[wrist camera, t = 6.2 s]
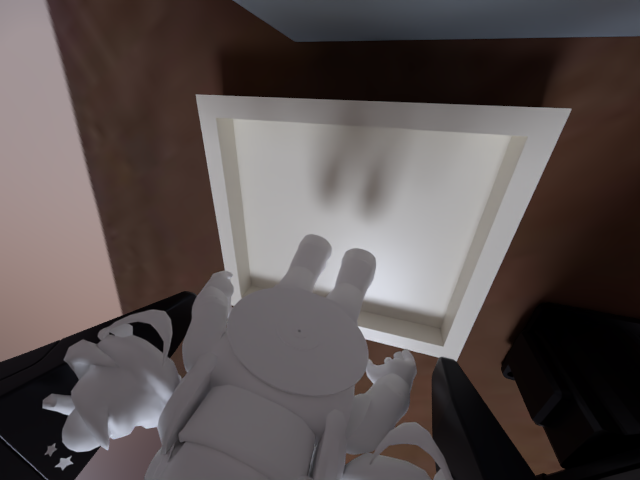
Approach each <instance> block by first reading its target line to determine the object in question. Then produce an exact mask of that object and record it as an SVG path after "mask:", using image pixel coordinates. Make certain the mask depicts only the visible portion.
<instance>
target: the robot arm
mask: <svg viewBox="0 0 640 480" xmlns="http://www.w3.org/2000/svg"><path fill="white" fill-rule="evenodd" d="M196 297H197V295H196V294H195V293H192V292H188V291H184V292H181V293H178V294H176V295H173V296H171V297H168V298H166V299H163V300H161V301H158V302H155V303H153V304H150V305H148V306H145V307H143V308H140V309H138V310H135V311H132V312H130V313H127V314H125V315H122V316H120V317H117V318H115V319H112V320H109V321H107V322H104V323H102V324H99V325H97V326H94V327H92V328H89V329H87V330H84V331H81V332H79V333H76V334H74V335H71V336H69V337H66V338H63V339H62V340H58V341H56V342H53V343H51V344H48V345H45V346H43V347H40V348H38V349H35V350H33V351H30V352H27V353H24V354H22V355H19V356H16V357H13V358H11V359H8V360H5V361H2V362H0V480H74V479H75V478H76V477H77V476H78V475H79V473H80V472H81V471H82V470H83V468H84V467H85V466H86V464H87V463H88V462H89V461H90V459H91V458H92V457H93V456H94V454H95V453H96V452H97V450H98V449H99V448H100V447H101V446H99V447H96V448H94V449H92V450H90V451H84V452H76V451H73V450H70V449H68V448H67V447H66V446H65V444H64V443H63V442H62V430H63V427H64V425H65V422H66V420H67V417H68V416H69V415H65V414H62V413H60V412H57V411H53V410H48V409H44V408H43V400H44V399H45V398H47V397H48V396H49V395H51V394H59V395H70V396H71V391H72V389H73V388H74V386H75V385H76V384H77V382H78V381H79V379H78V377H77V375H76V374H75V372H74V371H73V370H72V369H71V367H70V366H69V365H68V363H67V362H65V361H64V358H65V355H66V353H67V351H68V348H69V347H70V346H72V345H74V344H76V343H77V342H79V341H81V340H86V341H89V342H92V343H95V344H98V343H99V342H100V341H101V340H100V339H99V338H98V333H99V331H100V330H102V329H103V328H106V327H109V326H111V325H112V324H113V323H114V322H116V321H118V320H120V319H123V318H125V317H127V316H129V315H132V314H136V313H140V312H144V311H148V310H160V311H165V312H166V313H167V315H168V316H169V318H170V319H171V325H172V332H173V334H172V339H171V343H170V348H169V352H168V355H167V357H168V358H170V357H171V356H172V355H173V353H174V352H175V351H176V349H177V348H178V346H179V345H180V343H181V342H182V340H183V339H184V337H185V336H186V333H187V331H188V328H189V326H190V323H191V320H192V306H193V304H194V301H195V299H196ZM547 311H551V312H548V313H546V312H547ZM128 324H130V325H131V326H133V335H134V336H137V337H139V338H142V339H144V340H146V341H148V342H149V343H151V344H152V345H153V346H155V347H156V348H157V349H158V350H160V351H161V352H162V353H163V347H164V341H163V340H162V338H161V336H160V335H159V333H158V332H157V330H156V329H155V328H154V327H153V326H152V325H151V324H148V323H143V322H133V323H128ZM109 335H114V334H112V333H110V332H109ZM114 336H115V335H114ZM501 371H502V373H503V375H504V377H505V378H508V379H511V380H515V381H516V384H517V386H518V388H519V391H520V393H521V395H522V398H523V400H524V402H525V405H526V407H527V409H528V412H529V414H530V416H531V418H532V420H533V421H534V422H535V424H537V425H539V426H542V427H543V428H544V430H545V432H546V435H547V437H548V439H549V441H550V443H551V446H552V448H553V450H554V452H555V455H556V457H557V459H558V461H559V463H560V465H561V467H562V468H565V469H564V470H561V471H558V472H555V473H551V474H548V475H546V474H544V473H542V474H539V475H536V476H535V474H534V473H533V472H532V470H531V469H530V467H529V466H528V464H527V463H526V461H525V460H524V458H523V457H522V456H521V454H520V453H519V451H518V450H517V448H516V447H515V445H514V444H513V443H512V441H511V440H510V438H509V437H508V435H507V434H506V432H505V431H504V430H503V428H502V427H501V425H500V424H499V422H498V421H497V419H496V418H495V417H494V415H493V414H492V412H491V411H490V409H489V408H488V406H487V405H486V404H485V402H484V401H483V399H482V398H481V396H480V395H479V393H478V392H477V390H476V389H475V388H474V386H473V385H472V383H471V382H470V380H469V379H468V377H467V376H466V375H465V373H464V372H463V370H462V369H461V367H460V366H459V364H458V363H457V362H456V361H455V360H454V359H450V358H446V357H440V358H439V359H438V361H437V364H436V366H435V369H434V371H433V375H432V433H433V440H434V442H435V443H436V445H437V446H438V448H439V450H440V451H441V453H442V454H443V456H444V458H445V460H446V463H447V465H448V468H449V471H450V473H451V476H452V478H453V479H454V480H640V320H639V319H634V318H628V317H623V316H618V315H612V314H607V313H602V312H596V311H591V310H586V309H581V308H575V307H570V306H565V305H559V304H554V303H542V304H540V305H539V306H538V307H537V308H536V310H535V311H534V313H533V315H532V316H531V318H530V320H529V322H528V323H527V325H526V327H525V328H524V330H523V331H522V332H521V333H520V334H519V336H518V338H517V339H516V341H515V343H514V344H513V346H512V348H511V349H510V351H509V353H508V355H507V356H506V360H505V362H504V363H503V365H502V367H501ZM53 444H55V448H56V449H57V450H55V451H54V452H53V453H52V455H51V457H50V456H49V454H46V455H45V453H46V452H47V450H48V446H52V445H53ZM70 456H71V458H70V461H71V462H72V463H73V464H70V465H68V466H66V467H65V468H64V469H63V470H62V468H61V467H55V466H56V465H57V464H59V463H60V458H65V459H66V458H68V457H70ZM435 463H436V462H435ZM440 469H441V468H440V467H439V466H438V464H437V463H436V472H438V471H439V470H440Z"/></svg>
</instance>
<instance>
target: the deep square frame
mask: <svg viewBox="0 0 640 480" xmlns="http://www.w3.org/2000/svg"><path fill="white" fill-rule="evenodd" d="M233 1H234V2H236V3H237V4H239V5H240V6H242V7H243V8H245V9H246V10H248V11H249V12H251V13H252V14H254V15H255V16H257V17H259V18H260V19H262V20H263V21H265V22H266V23H268V24H269V25H271V26H272V27H274V28H275V29H277V30H278V31H280V32H281V33H283V34H284V35H286V36H287V37H289V38H290V39H292V40H293V41H295V42H319V41H379V40H438V39H497V38H557V37H616V36H640V0H233Z"/></svg>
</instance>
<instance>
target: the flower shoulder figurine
mask: <svg viewBox="0 0 640 480" xmlns="http://www.w3.org/2000/svg"><path fill="white" fill-rule="evenodd" d="M331 253H332V247H331V245H330V243H329V242H328V241H327V240H326V239H325V238H323V237H321V236H318V235H314V234H309V235H306V236H305V237H304V238H303V239H302V241H301V242H300V244H299V247H298V249H297V251H296V253H295V255H294V258H293V260H292V262H291V264H290V267H289V269H288V272H287V273H286V275H285V276H284V277H283V279H282V280H281V281H280V283H279V284H276V285H275V286H274V287H273V288H268V289H263V290H259V291H255V292H253V293H250V294H248V295H247V296H245V297H243V298H242V299H241V300H240V301H238V302H237V303H236V304H235V306H234V307H233V308H232V307H231V296H232V295H233V293H234V287H233V285H232V283H231V279H230V278H232V276H233V274H232V273H231V272H228V271H221V272H218V273H214V274H212V276H211V278H210V280H209V281H208V282H207V283H206V285H205V286H204V288H203V289H202V291H201V292H200V293H199V294H198V296H197V297H196V299H195V301H194V304H193V306H192V320H191V323H190V326H189V328H188V331H187V333H186V336H185V338H184V341H183V345H182V352H183V361H184V366H185V370H186V371H187V372H188V373H187V374H186V375H185V377H184V378H183V379H182V380H181V376H180V375H179V374H178V372H177V369H176V367H175V364H174V362H173V361H172V360H171V359H170V358H168V357H167V355H168V352H169V348H170V343H171V339H172V334H173V332H172V325H171V319H170V318H169V316H168V315H167V313H166V312H165V311H160V310H148V311H144V312H140V313H136V314H132V315H129V316H127V317H125V318H123V319H120V320H118V321H116V322H114V323H113V324H112V325H111V326H109V327H106V328H103V329H102V330H100V331H99V333H98V338H99V339H100V340H101V341H100V342H99V343H98V344H95V343H92V342H89V341H86V340H81V341H79V342H77V343H76V344H74V345H72V346H70V347H69V348H68V351H67V353H66V355H65V358H64V361H65V362H67V363H68V365H69V366H70V367H71V369H72V370H73V371H74V372H75V374H76V375H77V377H78V379H79V381H78V382H77V384H76V385H75V386H74V388H73V389H72V391H71V396H70V395H59V394H51V395H49V396H48V397H47V398H45V399H44V400H43V408H44V409H48V410H53V411H57V412H60V413H62V414H65V415H69V416H68V417H67V420H66V422H65V425H64V427H63V430H62V442H63V443H64V444H65V446H66V447H67V448H68V449H70V450H73V451H76V452H84V451H90V450H92V449H94V448H96V447H99V446H101V447H103V448H104V449H106V450H108V448H109V444H110V439H109V438H110V437H111V438H112V439H116V438H120V437H123V436H126V435H129V434H130V433H131V431H132V430H133V429H134V427H135V426H143V427H144V428H146V429H148V428H153V427H157V429H158V432H159V436H160V439H161V443H162V447H161V448H160V449H159V451H158V452H157V453H156V455H155V456H154V458H153V460H152V461H151V463H150V465H149V467H148V470H147V472H146V474H145V477H144V480H431V478H430V477H429V476H428V474H427V473H426V471H425V470H423V469H421V468H419V467H417V466H415V465H413V464H412V463H410V462H408V461H404V460H400V459H396V458H392V457H387V456H382V455H379V454H380V453H381V452H382V451H383V450H384V449H386V448H387V447H388V446H389V445H396V444H414V445H418V446H419V447H421V448H422V449H423V450H425V451H426V452H427V453H429V454H430V455H431V456H432V457H433V459H434V460H435V462H436V463H437V464H438V466H439V467H440V468H441V469H440V470H439V471H438V472H437V473H436V475H435V476H434V480H454V479H453V478H452V476H451V473H450V471H449V468H448V465H447V463H446V460H445V458H444V456H443V454H442V453H441V451H440V450H439V448H438V446H437V445H436V443H435V442H434V440H433V438H432V437H431V435H430V434H429V432H428V431H427V430H426V429H424V428H423V427H422V426H420V425H419V424H418V423H416V422H410V423H402V424H401V425H399V426H397V427H396V428H394V427H395V425H396V423H397V422H398V421H399V420H400V418H402V417H403V416H404V415H405V414H406V412H407V410H408V408H409V404H410V391H411V388H412V384H413V380H414V378H415V376H416V373H417V370H416V364H415V360H414V357H413V355H412V354H411V353H410V352H409V351H408V350H407V349H404V350H403V351H402V353H401V351H400V352H396V353H395V354H394V359H391V357H387V358H386V359H385V360H384V362H385V364H383V365H378V366H377V365H374V364H373V363H372V361H371V360H370V359H368V347H367V343H366V340H365V338H364V336H363V334H362V332H361V330H360V329H359V327H358V323H357V319H358V316H359V314H360V310H361V306H362V302H363V299H364V296H365V294H366V291H367V289H368V288H369V287H370V285H371V283H372V281H373V279H374V274H375V270H376V258H375V257H374V255H373V254H372V253H370V252H369V251H366V250H363V249H359V248H353V249H350V250H348V251H346V252H345V254H344V256H343V258H342V261H341V267H340V270H339V273H338V276H337V279H336V283H335V287H334V289H333V290H332V291H331V292H330V293H329V294H328V295H327V296H326V298H325V297H323V296H320V295H317V294H315V293H312V292H313V288H314V285H315V283H316V281H317V279H318V277H319V276H320V275H321V273H322V272H323V271H324V269H325V268H326V262H327V260H328V259H329V258H330V257H331ZM227 318H228V321H227ZM133 322H143V323H148V324H151V325H152V326H153V327H154V328H155V329H156V330H157V332H158V333H159V335H160V336H161V338H162V340H163V341H164V347H163V353H162V352H161V351H160V350H158V349H157V348H156V347H155V346H153V345H152V344H151V343H149V342H148V341H146V340H144V339H142V338H139V337H137V336H134V335H133V326H131V325H130V324H128V323H133ZM226 323H227V328H226ZM109 332H110V333H112V334H114V335H115V336H114V335H109ZM365 371H366V373H367V376H368V377H369V379H370V380H371V381H372V383H373V386H372V387H371V388H370V389H369V390H368V391H367V392H366V393H365V394H361V393H360V394H358V395H356V396H354V390H355V386H354V385H355V384H356V383H357V382H358V381H359V380H360V379H361V377H362V376H363V374H364V373H365ZM314 446H316V448H315V449H314ZM55 450H57V449H56V448H55V444H53V445H52V446H48V450H47V452H46V453H45V455H46V454H49V456H50V457H51V455H52V453H53V452H54V451H55ZM313 450H314V451H313ZM374 450H375V452H374V454H373V453H368V452H372V451H374ZM346 453H348V454H362V453H365V454H363V455H361V456H359V457H357V458H355V459H353V460H352V461H350V462H349V463H347V464H346V465H345V459H346ZM70 458H71V456H70V457H68V458H66V459H65V458H60V463H59V464H57V465H56V466H55V467H61V468H62V470H63V469H64V468H65V467H66V466H68V465H70V464H73V463H72V462H71V461H70Z"/></svg>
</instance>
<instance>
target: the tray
mask: <svg viewBox="0 0 640 480" xmlns="http://www.w3.org/2000/svg"><path fill="white" fill-rule="evenodd" d="M196 100H197V106H198V112H199V118H200V124H201V130H202V136H203V142H204V148H205V153H206V159H207V165H208V171H209V177H210V183H211V189H212V195H213V201H214V207H215V213H216V219H217V225H218V231H219V237H220V243H221V249H222V255H223V261H224V267H225V271H228V272H231V273H232V274H233V276H232V278H230V279H231V283H232V285H233V287H234V293H233V295H232V296H231V305H233V306H235V304H236V303H237V302H238V301H240V300H241V299H242V298H243V297H245V296H247V295H248V294H250V293H253V292H255V291H259V290H263V289H268V288H273V287H274V286H275V285H276V284H279V283H280V281H281V280H282V279H283V277H284V276H285V275H286V273H287V272H288V269H289V267H290V264H291V262H292V260H293V258H294V255H295V253H296V251H297V249H298V247H299V244H300V242H301V241H302V239H303V238H304V237H305V236H306V235H309V234H314V235H318V236H321V237H323V238H325V239H326V240H327V241H328V242H329V243H330V245H331V247H332V253H331V257H330V258H329V259H328V260H327V262H326V268H325V269H324V271H323V272H322V273H321V275H320V276H319V277H318V279H317V281H316V283H315V285H314V288H313V292H312V293H315V294H317V295H320V296H323V297H325V298H326V296H327V295H328V294H329V293H330V292H331V291H332V290H333V289H334V287H335V283H336V279H337V276H338V273H339V270H340V267H341V261H342V258H343V256H344V254H345V252H346V251H348V250H350V249H353V248H359V249H363V250H366V251H369V252H370V253H372V254H373V255H374V257H375V258H376V270H375V274H374V279H373V281H372V283H371V285H370V287H369V288H368V289H367V291H366V294H365V296H364V299H363V302H362V306H361V310H360V314H359V316H358V319H357V323H358V327H359V329H360V330H361V332H362V334H363V336H364V338H365V339H368V340H372V341H376V342H379V343H383V344H387V345H391V346H395V347H399V348H403V349H407V350H411V351H415V352H419V353H423V354H427V355H431V356H435V357H439V358H440V357H446V358H450V359H454V360H455V361H457V359H458V357H459V355H460V353H461V350H462V348H463V346H464V344H465V342H466V339H467V337H468V335H469V333H470V331H471V329H472V326H473V324H474V322H475V320H476V318H477V315H478V313H479V311H480V309H481V307H482V304H483V302H484V300H485V298H486V296H487V293H488V291H489V289H490V287H491V285H492V283H493V280H494V278H495V276H496V274H497V272H498V269H499V267H500V265H501V263H502V261H503V258H504V256H505V254H506V252H507V250H508V247H509V245H510V243H511V241H512V239H513V237H514V234H515V232H516V230H517V228H518V226H519V223H520V221H521V219H522V217H523V215H524V212H525V210H526V208H527V206H528V204H529V201H530V199H531V197H532V195H533V193H534V191H535V188H536V186H537V184H538V182H539V180H540V177H541V175H542V173H543V171H544V169H545V166H546V164H547V162H548V160H549V158H550V155H551V153H552V151H553V149H554V147H555V145H556V142H557V140H558V138H559V136H560V134H561V131H562V129H563V127H564V125H565V123H566V120H567V118H568V116H569V114H570V112H571V109H567V108H540V107H514V106H487V105H461V104H434V103H407V102H381V101H354V100H328V99H301V98H274V97H248V96H221V95H196Z"/></svg>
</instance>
